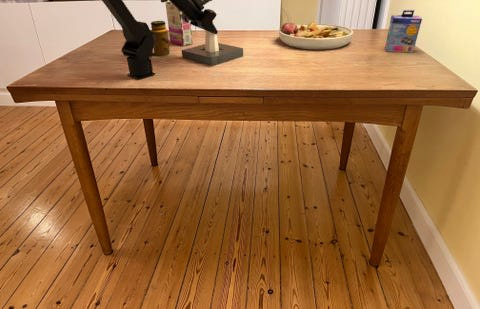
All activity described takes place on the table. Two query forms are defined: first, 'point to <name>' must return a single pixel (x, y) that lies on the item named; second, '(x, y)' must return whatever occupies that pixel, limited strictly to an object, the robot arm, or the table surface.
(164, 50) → the condiment
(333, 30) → the bowl
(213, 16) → the robot arm
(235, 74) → the table surface
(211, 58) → the holder block
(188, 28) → the candy bar box
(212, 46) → the pepper shaker
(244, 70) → the table surface
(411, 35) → the ink cartridge box
